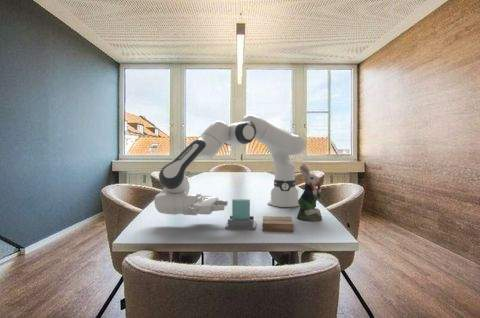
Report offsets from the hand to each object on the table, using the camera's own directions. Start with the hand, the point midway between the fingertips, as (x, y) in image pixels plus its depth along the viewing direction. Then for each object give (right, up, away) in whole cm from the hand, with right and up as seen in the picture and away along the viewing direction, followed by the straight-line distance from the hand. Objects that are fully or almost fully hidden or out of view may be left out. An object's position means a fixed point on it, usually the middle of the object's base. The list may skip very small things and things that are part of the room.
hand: (226, 205), depth 130 cm
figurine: (+38, -8, +14) cm, 41 cm away
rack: (+6, -9, 0) cm, 11 cm away
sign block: (+6, -8, 0) cm, 10 cm away
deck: (+21, -9, -1) cm, 23 cm away
